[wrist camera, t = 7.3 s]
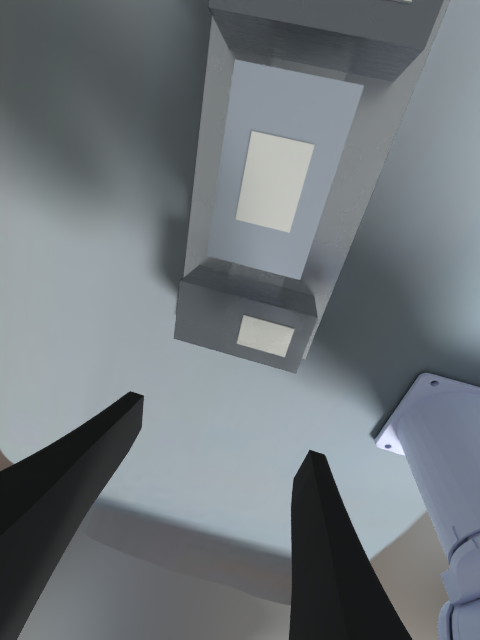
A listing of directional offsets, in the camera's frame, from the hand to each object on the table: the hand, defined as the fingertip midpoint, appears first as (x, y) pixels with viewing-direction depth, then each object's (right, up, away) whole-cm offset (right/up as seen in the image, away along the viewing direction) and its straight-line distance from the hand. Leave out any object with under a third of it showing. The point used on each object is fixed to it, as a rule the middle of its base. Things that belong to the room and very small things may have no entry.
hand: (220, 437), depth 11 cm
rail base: (+3, +13, +5) cm, 14 cm away
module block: (+3, +13, +4) cm, 13 cm away
